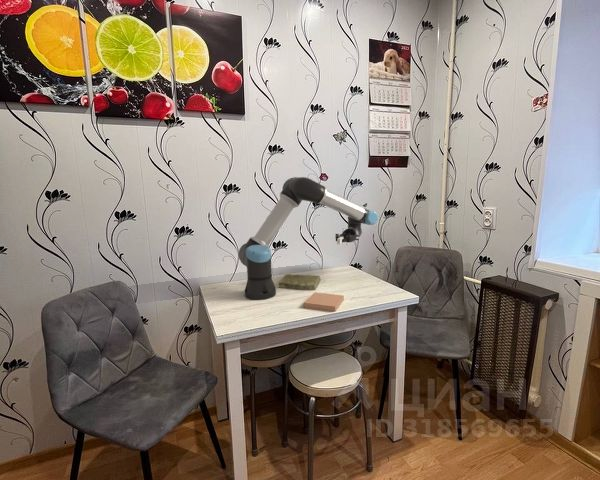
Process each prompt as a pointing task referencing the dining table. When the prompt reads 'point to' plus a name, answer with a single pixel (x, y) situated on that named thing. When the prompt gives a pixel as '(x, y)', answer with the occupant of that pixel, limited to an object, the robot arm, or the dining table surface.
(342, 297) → the standing tile
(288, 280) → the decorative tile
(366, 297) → the dining table surface
